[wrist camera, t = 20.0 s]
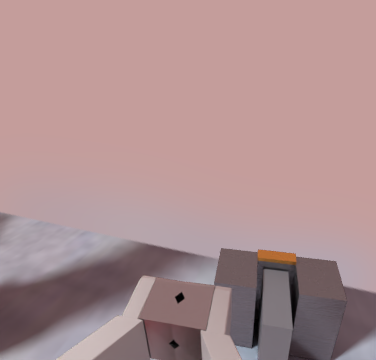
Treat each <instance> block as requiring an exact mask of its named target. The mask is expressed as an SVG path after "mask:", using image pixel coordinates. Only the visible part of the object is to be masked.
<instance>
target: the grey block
mask: <svg viewBox="0 0 376 360" xmlns="http://www.w3.org/2000/svg"><path fill="white" fill-rule="evenodd" d="M292 332H293V325H292V313H291V301H290V288H289V276H288V272H285V271H277V270H269V269H263V278H262V289H261V300H260V312H259V327H258V360H288V355H289V349H290V343H291V337H292Z"/></svg>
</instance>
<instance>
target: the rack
mask: <svg viewBox="0 0 376 360" xmlns="http://www.w3.org/2000/svg"><path fill="white" fill-rule="evenodd" d="M263 269H269V270H277V271H285V272H288V276H289V288H290V301H291V313H292V325H293V332H292V337H291V343H290V349H289V355H291V356H296V357H301V358H307V359H312V360H330V359H331V356H332V352H333V349H334V345H335V342H336V339H337V335H338V332H339V328H340V325H341V321H342V318H343V314H344V311H345V307H346V304H347V298H346V295H345V291H344V288H343V284H342V281H341V277H340V274H339V270H338V267H337V263H336V262H335V261H328V260H319V259H309V258H302V257H296V254H294V253H293V254H292V253H284V252H276V251H266V250H258V252H248V251H240V250H232V249H223V248H222V249H221V252H220V257H219V262H218V267H217V272H216V277H215V282H214V285H215V286H221V287H228V288H232V308H231V327H230V336H231V338H232V340H233V342H234V344H235V345H237V346H242V347H248V348H252V339H253V326H254V319H259V312H260V300H261V289H262V278H263Z"/></svg>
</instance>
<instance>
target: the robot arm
mask: <svg viewBox="0 0 376 360" xmlns="http://www.w3.org/2000/svg"><path fill="white" fill-rule="evenodd" d="M231 308H232V288H228V287H221V286H215V285H207V284H200V283H192V282H182V281H176V280H170V279H164V278H159V277H151V276H145V275H143V276H142V277H141V278H140V280H139V282H138V284H137V286H136V288H135V290H134V292H133V294H132V296H131V298H130V300H129V302H128V304H127V306H126V308H125V310H124V312H123V314H122V316H119V315H117V316H116V317H114V318H113V319H112V320H110V321H109V322H108V323H106V324H105V325H103V326H102V327H101V328H99V329H98V330H96V331H95V332H94V333H92V334H91V335H89V336H88V337H87V338H85V339H84V340H82V341H81V342H80V343H78V344H77V345H75V346H74V347H73V348H71V349H70V350H69V351H67V352H66V353H64V354H63V355H62V356H60V357H59V358H57V359H56V360H150V358H152V359H157V360H242V359H241V357H240V355H239V353H238V351H237V349H236V346H235V344H234V342H233V340H232V338H231V336H230V327H231Z"/></svg>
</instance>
